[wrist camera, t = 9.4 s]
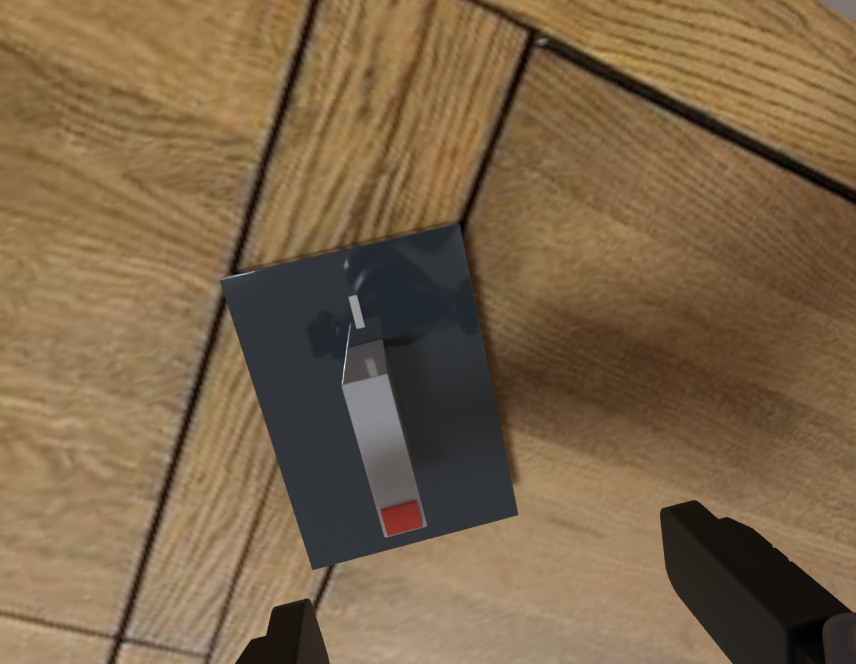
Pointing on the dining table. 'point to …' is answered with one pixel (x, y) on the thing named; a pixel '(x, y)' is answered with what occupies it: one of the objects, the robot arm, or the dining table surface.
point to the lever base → (412, 373)
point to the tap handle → (382, 438)
